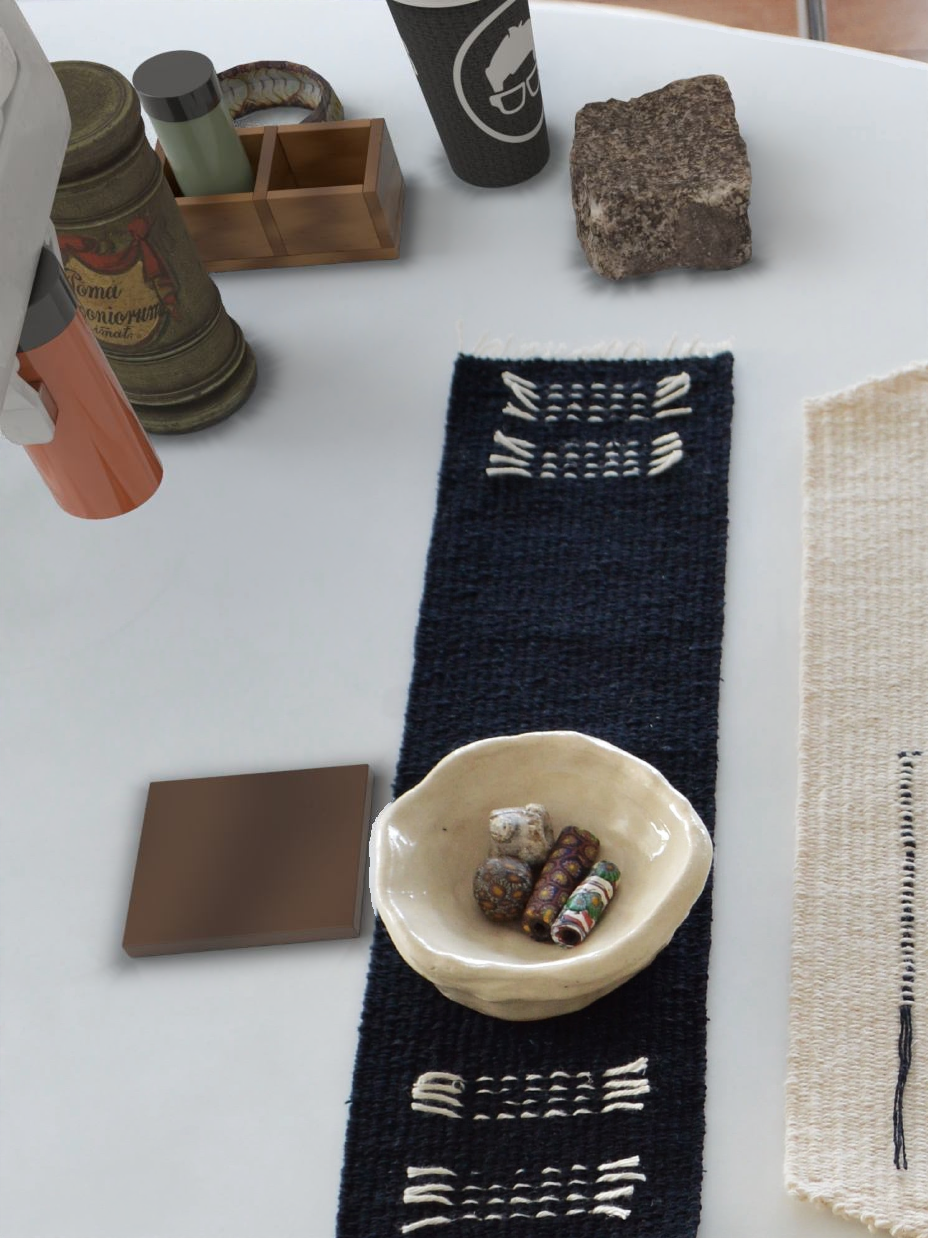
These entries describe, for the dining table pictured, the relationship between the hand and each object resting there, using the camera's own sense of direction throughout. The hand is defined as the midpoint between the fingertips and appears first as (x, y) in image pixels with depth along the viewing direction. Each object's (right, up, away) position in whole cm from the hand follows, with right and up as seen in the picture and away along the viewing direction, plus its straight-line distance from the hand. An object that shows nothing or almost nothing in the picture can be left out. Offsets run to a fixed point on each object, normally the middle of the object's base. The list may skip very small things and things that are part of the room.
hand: (49, 381), depth 73 cm
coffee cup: (+5, +31, +49) cm, 58 cm away
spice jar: (0, -3, +5) cm, 5 cm away
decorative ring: (-10, +32, +50) cm, 60 cm away
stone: (+17, +26, +45) cm, 55 cm away
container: (-11, +12, +38) cm, 41 cm away
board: (+1, -18, +19) cm, 26 cm away
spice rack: (-7, +25, +45) cm, 52 cm away
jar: (-11, +25, +44) cm, 52 cm away
